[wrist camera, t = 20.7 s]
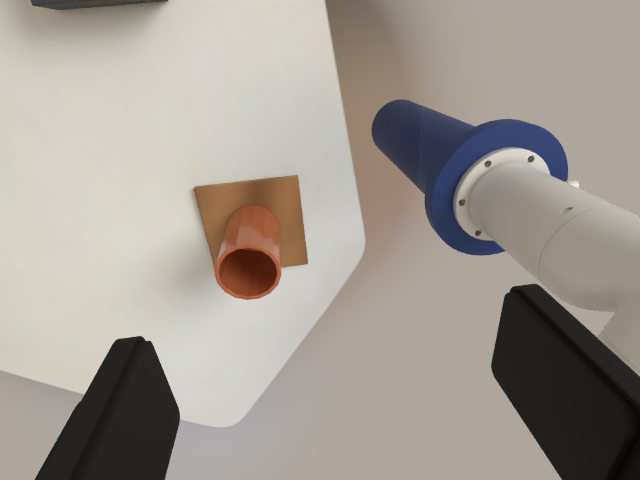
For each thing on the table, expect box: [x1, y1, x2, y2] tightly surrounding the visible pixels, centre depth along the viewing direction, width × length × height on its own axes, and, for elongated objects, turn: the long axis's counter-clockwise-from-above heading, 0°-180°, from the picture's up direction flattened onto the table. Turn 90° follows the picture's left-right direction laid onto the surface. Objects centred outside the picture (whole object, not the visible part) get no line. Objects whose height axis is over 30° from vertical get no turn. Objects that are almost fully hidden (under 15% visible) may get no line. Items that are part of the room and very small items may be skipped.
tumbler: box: [214, 205, 281, 300], centre depth 40 cm, size 6×6×10 cm
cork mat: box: [194, 175, 308, 268], centre depth 45 cm, size 12×12×1 cm
